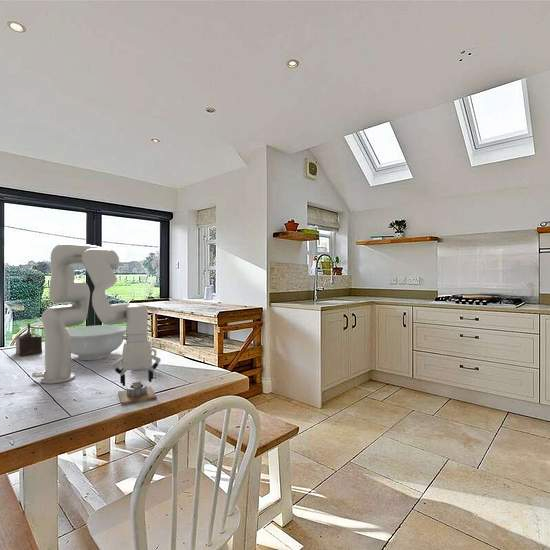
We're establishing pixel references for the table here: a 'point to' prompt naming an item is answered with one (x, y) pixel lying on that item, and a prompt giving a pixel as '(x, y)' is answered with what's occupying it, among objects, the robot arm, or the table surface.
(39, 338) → the dark boxy spouted shape
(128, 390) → the ring
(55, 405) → the table surface
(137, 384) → the brown base with peg
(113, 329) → the bowl
